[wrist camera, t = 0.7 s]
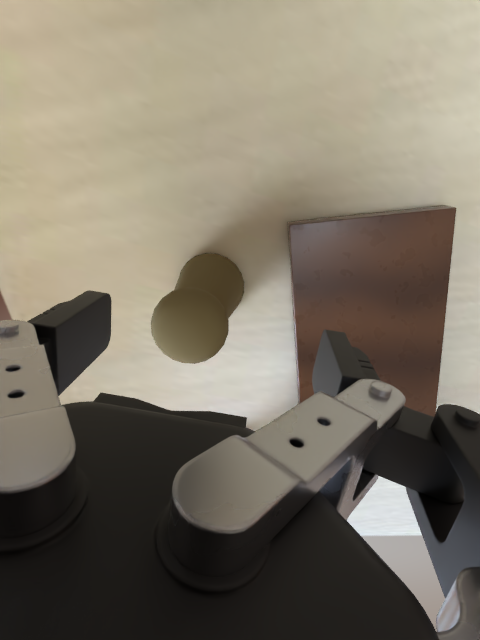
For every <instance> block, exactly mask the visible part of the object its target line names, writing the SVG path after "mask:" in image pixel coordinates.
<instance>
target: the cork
mask: <svg viewBox="0 0 480 640" xmlns="http://www.w3.org/2000/svg"><path fill="white" fill-rule="evenodd" d="M243 293H244V281H243V278H242V274H241V272H240V270H239V269H238V268H237V266H236V265H235V264H234V263H233V262H232V261H230V260H229V259H228V258H226V257H224V256H221V255H218V254H208V253H205V254H202V255H198V256H195V257H194V258H193V259H191V260H190V261H188V262H187V263H186V265H185V266H184V268H183V269H182V270H181V273H180V276H179V279H178V281H177V284H176V287H175V290H174V291H172V292H171V293H169V294H168V295H166V296H165V297H163V298H162V299H161V301H160V302H159V303H158V305H157V306H156V308H155V309H154V313H153V316H152V320H151V330H152V336H153V338H154V340H155V343H156V345H157V346H158V347H159V348H160V349H161V351H162V352H163V353H164V354H165V355H167V356H168V357H170V358H171V359H173V360H176V361H179V362H182V363H194V364H195V363H199V362H203V361H206V360H208V359H209V358H211V357H213V356H214V355H215V354H216V353H217V352H218V351H219V350H220V349H221V348H222V346H223V345H224V343H225V340H226V337H227V335H228V318H229V317H230V315H231V314H232V313H233V311H234V310H235V308H236V307H237V306H238V304H239V303H240V301H241V299H242V296H243Z"/></svg>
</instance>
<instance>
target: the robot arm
mask: <svg viewBox="0 0 480 640" xmlns="http://www.w3.org/2000/svg"><path fill="white" fill-rule="evenodd" d="M110 336H111V297H110V295H109V294H107V293H101V292H95V291H86V292H84V293H83V294H81V295H79V296H78V297H76V298H74V299H72V300H71V301H67V302H63V303H60V304H57V305H56V306H54V307H52V308H50V310H47V311H45V312H43V314H40V315H38V316H36V317H34V318H33V319H31V320H29V321H27V322H26V321H20V320H3V321H0V640H480V414H478V413H476V412H474V411H472V410H469V409H467V408H464V407H461V406H457V405H451V404H444V405H441V406H439V407H438V409H437V411H436V414H435V416H434V417H433V416H430V415H427V414H424V413H421V412H418V411H415V410H413V409H410V408H408V407H406V406H404V404H405V400H406V399H405V396H404V395H403V393H402V392H401V391H400V390H398V389H397V388H395V387H394V386H392V385H390V384H388V383H385V382H382V381H381V380H380V378H379V377H378V375H377V373H376V371H375V370H374V367H373V366H372V364H371V363H370V360H369V358H368V356H367V355H366V354H365V353H364V352H362V351H361V350H360V349H359V348H357V347H352V346H351V344H350V342H349V340H348V338H347V336H346V334H345V333H344V332H338V331H332V330H326V329H325V330H324V331H323V333H322V336H321V340H320V344H319V348H318V352H317V356H316V360H315V364H314V368H313V375H312V385H313V390H314V395H313V396H311V397H309V398H308V399H306V400H305V401H303V402H302V403H300V404H298V405H297V406H295V407H294V408H292V409H291V410H289V411H288V412H286V413H284V414H283V415H281V416H280V417H278V418H277V419H275V420H273V421H272V422H270V423H269V424H267V425H266V426H264V427H262V428H261V429H259V430H258V431H256V432H255V431H253V430H251V429H248V428H246V420H247V418H246V417H240V416H234V415H228V414H223V413H217V412H211V411H170V410H167V409H164V408H161V407H158V406H155V405H152V404H150V403H147V402H144V401H141V400H138V399H135V398H129V397H123V396H117V395H111V394H106V393H100V394H99V395H98V397H97V398H96V399H95V400H94V402H77V403H70V404H65V405H61V404H60V400H59V397H58V396H59V395H60V394H61V393H62V392H63V391H64V390H65V389H66V388H67V387H68V386H69V385H70V384H71V383H72V382H73V381H74V380H75V379H76V378H77V377H78V376H79V375H80V374H81V373H82V372H83V371H84V370H85V369H86V368H87V367H88V366H89V365H90V364H91V363H92V362H93V361H94V360H95V359H96V358H97V357H98V356H99V355H100V354H101V353H102V352H103V351H104V350H105V349H106V348H107V346H108V344H109V341H110ZM378 476H381V477H383V478H386V479H388V480H391V481H393V482H395V483H398V484H400V485H403V486H405V487H406V491H407V494H408V497H409V500H410V503H411V505H412V508H413V511H414V514H415V516H416V519H417V522H418V525H419V527H420V530H421V533H422V536H423V538H424V541H425V544H426V546H427V549H428V552H429V555H430V558H431V560H432V563H433V566H434V569H435V571H436V574H437V577H438V580H439V583H440V585H441V588H442V591H443V593H444V596H445V601H444V603H443V605H442V606H441V608H440V610H439V612H438V614H437V618H436V629H437V632H436V631H435V629H434V627H433V624H432V623H431V621H430V619H429V617H428V616H427V614H426V612H425V610H424V609H423V607H422V606H421V604H420V603H419V602H418V600H417V599H416V597H415V596H414V594H413V593H412V592H411V591H410V590H409V589H408V587H407V586H406V585H405V584H404V583H403V582H402V581H401V579H400V578H399V577H398V576H397V575H396V574H395V573H394V572H393V571H392V570H391V569H390V567H388V565H387V564H386V563H385V562H384V561H383V560H382V559H381V558H380V557H379V555H378V554H377V553H376V552H375V551H374V550H373V549H372V548H371V547H370V546H369V545H368V544H367V542H366V541H364V539H363V538H362V537H361V536H360V535H359V534H358V533H357V532H356V530H355V529H354V528H353V527H352V526H351V525H350V524H349V523H348V522H347V521H346V520H347V518H348V517H349V515H350V514H351V512H352V511H353V510H354V509H355V507H356V506H357V505H358V504H359V502H360V501H361V500H362V498H363V497H364V496H365V495H366V493H367V492H368V491H369V489H370V488H371V487H372V486H373V484H374V483H375V482H376V480H377V479H378Z"/></svg>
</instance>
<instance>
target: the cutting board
mask: <svg viewBox="0 0 480 640" xmlns="http://www.w3.org/2000/svg"><path fill="white" fill-rule="evenodd" d="M455 214H456V208H454V207H449V206H435V207H425V208H416V209H406V210H397V211H387V212H377V213H368V214H358V215H349V216H339V217H329V218H320V219H310V220H301V221H291V222H288V234H289V250H290V266H291V282H292V298H293V314H294V330H295V346H296V362H297V378H298V394H299V404H300V403H302V402H303V401H305V400H306V399H308V398H309V397H311V396H313V395H314V390H313V385H312V375H313V368H314V364H315V360H316V356H317V352H318V348H319V344H320V340H321V336H322V333H323V331H324V330H325V329H326V330H332V331H338V332H344V333H345V334H346V336H347V338H348V340H349V342H350V344H351V346H352V347H357V348H359V349H360V350H361V351H362V352H364V353H365V354H366V355H367V356H368V358H369V360H370V363H371V364H372V366H373V367H374V370H375V371H376V373H377V375H378V377H379V378H380V380H381V381H382V382H385V383H388V384H390V385H392V386H394V387H395V388H397V389H398V390H400V391H401V392H402V393H403V395H404V396H405V399H406V400H405V404H404V406H406V407H408V408H410V409H413V410H415V411H418V412H421V413H424V414H427V415H430V416H433V417H434V416H435V412H436V402H437V392H438V382H439V372H440V363H441V353H442V343H443V333H444V323H445V313H446V303H447V293H448V283H449V273H450V264H451V254H452V244H453V234H454V224H455Z"/></svg>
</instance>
